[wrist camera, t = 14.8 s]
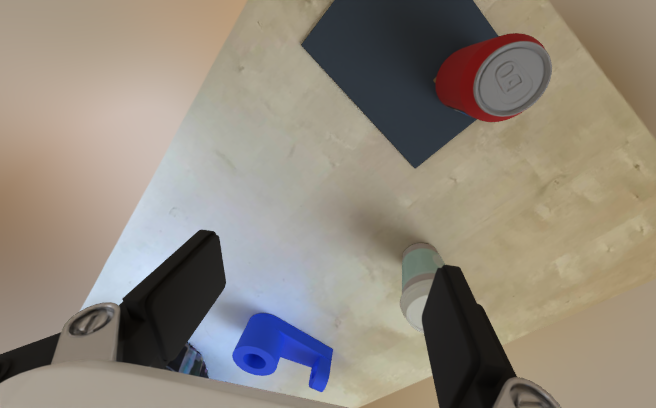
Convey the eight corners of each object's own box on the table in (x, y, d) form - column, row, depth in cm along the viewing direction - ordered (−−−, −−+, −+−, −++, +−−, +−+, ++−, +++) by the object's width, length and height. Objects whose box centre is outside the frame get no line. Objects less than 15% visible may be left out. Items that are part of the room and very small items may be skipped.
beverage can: (450, 120, 33) (489, 141, 22) (422, 75, 31) (449, 74, 20) (505, 84, 30) (577, 87, 20) (477, 32, 29) (541, 5, 18)
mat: (301, 45, 32) (300, 45, 32) (404, -93, 26) (405, -96, 25) (414, 167, 37) (415, 168, 36) (526, 78, 30) (529, 78, 30)
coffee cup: (444, 277, 44) (467, 341, 34) (393, 275, 46) (399, 335, 35) (450, 235, 41) (478, 292, 30) (395, 235, 42) (403, 288, 31)
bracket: (244, 330, 59) (227, 363, 52) (255, 307, 55) (239, 339, 48) (320, 364, 60) (313, 401, 54) (337, 344, 56) (332, 380, 49)
